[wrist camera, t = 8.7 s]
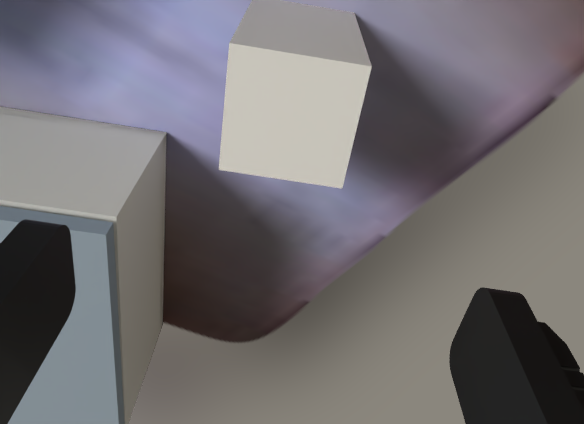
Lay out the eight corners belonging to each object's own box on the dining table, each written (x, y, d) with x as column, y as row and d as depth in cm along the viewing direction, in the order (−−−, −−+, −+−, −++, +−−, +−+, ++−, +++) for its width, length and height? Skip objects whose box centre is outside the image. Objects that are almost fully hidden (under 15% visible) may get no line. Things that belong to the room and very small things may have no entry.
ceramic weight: (254, -5, 22) (229, 43, 16) (354, 12, 23) (371, 66, 16) (244, 92, 25) (218, 169, 18) (334, 107, 25) (342, 188, 18)
